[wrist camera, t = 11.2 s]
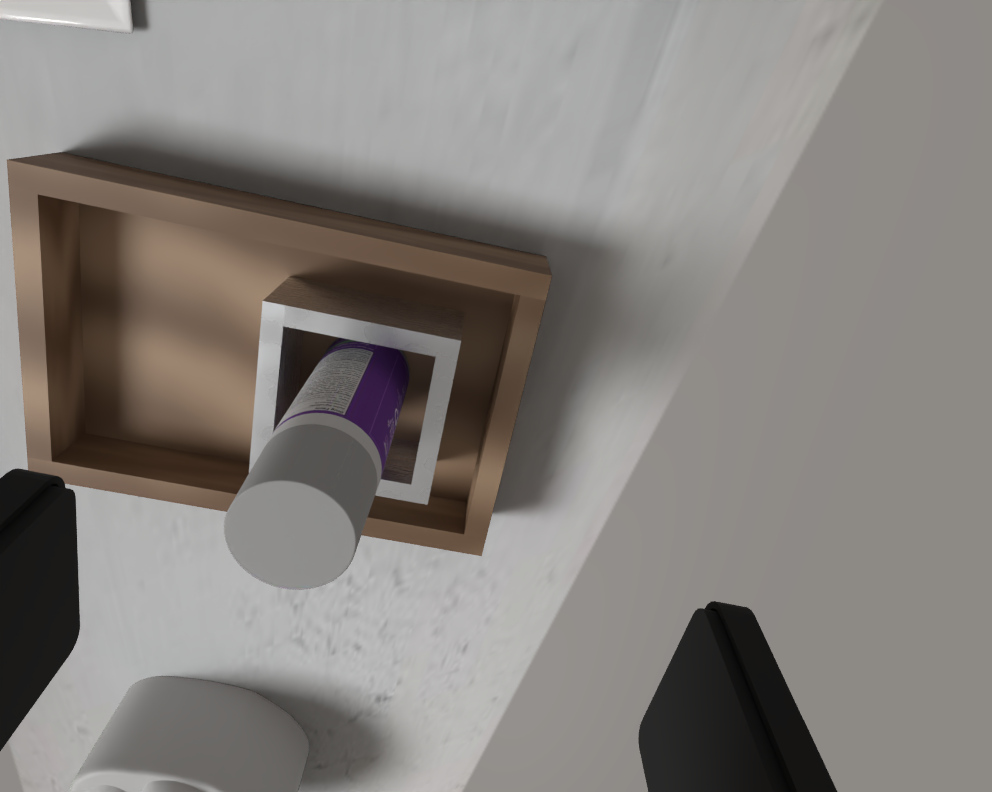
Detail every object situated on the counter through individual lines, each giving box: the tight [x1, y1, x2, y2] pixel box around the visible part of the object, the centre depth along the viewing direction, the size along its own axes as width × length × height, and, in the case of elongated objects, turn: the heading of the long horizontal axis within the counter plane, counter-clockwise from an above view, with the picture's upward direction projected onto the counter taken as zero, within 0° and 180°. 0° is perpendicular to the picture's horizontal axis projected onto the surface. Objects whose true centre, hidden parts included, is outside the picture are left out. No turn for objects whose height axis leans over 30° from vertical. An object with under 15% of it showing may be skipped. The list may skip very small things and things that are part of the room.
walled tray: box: [7, 152, 552, 556], centre depth 35 cm, size 16×24×4 cm, turn 78°
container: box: [224, 338, 410, 590], centre depth 30 cm, size 5×5×15 cm
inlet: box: [249, 276, 465, 505], centre depth 35 cm, size 9×9×4 cm
